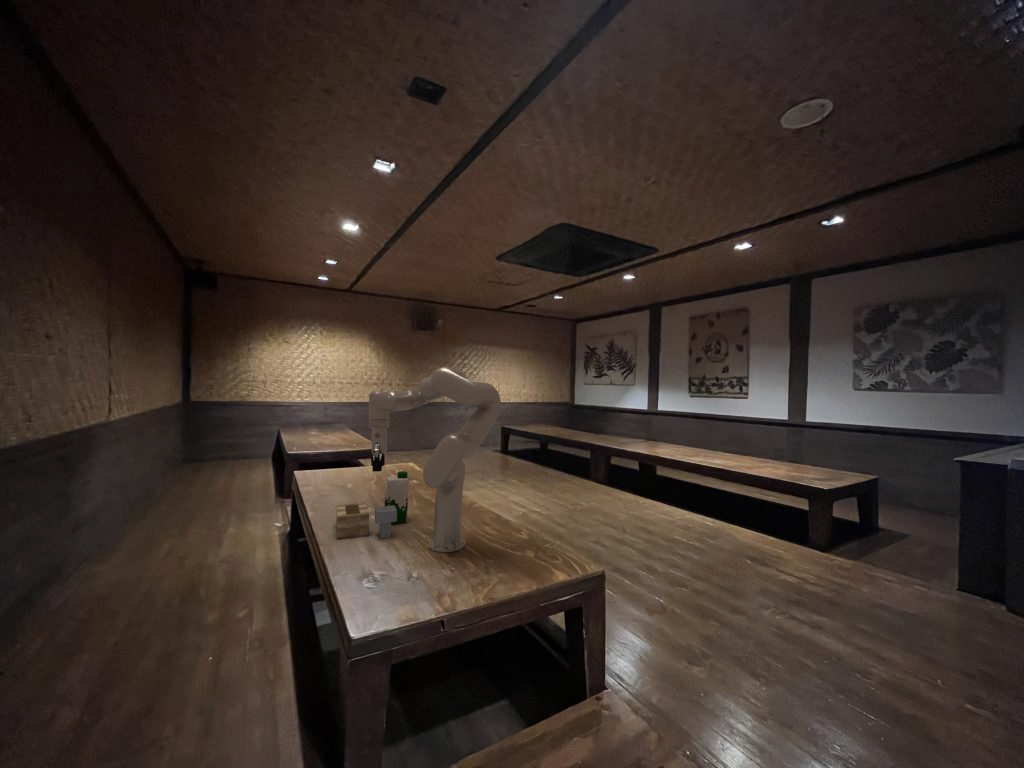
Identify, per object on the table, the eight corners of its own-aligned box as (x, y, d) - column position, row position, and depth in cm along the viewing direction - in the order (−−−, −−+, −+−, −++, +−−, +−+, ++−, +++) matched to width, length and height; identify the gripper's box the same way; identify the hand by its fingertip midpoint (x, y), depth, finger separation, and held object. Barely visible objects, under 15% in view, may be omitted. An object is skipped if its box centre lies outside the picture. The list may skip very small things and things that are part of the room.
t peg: (396, 537, 145) (397, 510, 145) (376, 540, 142) (377, 512, 142) (393, 531, 151) (394, 505, 151) (374, 533, 148) (375, 507, 148)
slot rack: (368, 535, 146) (369, 514, 146) (336, 539, 141) (337, 517, 141) (365, 522, 160) (365, 502, 160) (336, 525, 156) (336, 504, 156)
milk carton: (408, 523, 160) (410, 474, 161) (385, 526, 157) (387, 475, 157) (404, 516, 168) (406, 469, 169) (382, 519, 164) (384, 471, 165)
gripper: (387, 425, 143) (387, 472, 142) (390, 422, 160) (390, 464, 159) (365, 425, 141) (365, 473, 141) (371, 422, 158) (370, 465, 157)
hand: (378, 468), depth 150 cm, fingers open, 9 cm apart
